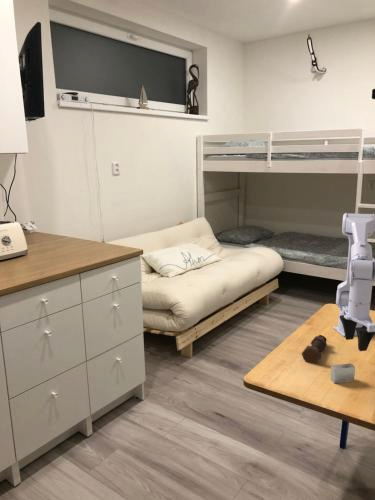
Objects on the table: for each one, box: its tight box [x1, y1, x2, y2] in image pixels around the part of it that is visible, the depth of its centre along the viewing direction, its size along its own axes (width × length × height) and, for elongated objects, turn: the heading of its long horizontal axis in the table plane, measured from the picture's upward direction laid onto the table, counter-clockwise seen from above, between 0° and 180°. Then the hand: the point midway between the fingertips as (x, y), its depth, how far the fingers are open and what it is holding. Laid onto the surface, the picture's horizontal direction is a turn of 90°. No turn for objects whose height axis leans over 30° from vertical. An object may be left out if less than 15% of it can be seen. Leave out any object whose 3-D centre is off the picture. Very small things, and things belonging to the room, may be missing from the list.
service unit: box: [330, 363, 356, 384], centre depth 116 cm, size 6×2×4 cm, turn 98°
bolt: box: [301, 334, 328, 365], centre depth 132 cm, size 6×5×15 cm
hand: (355, 344), depth 119 cm, fingers open, 7 cm apart
